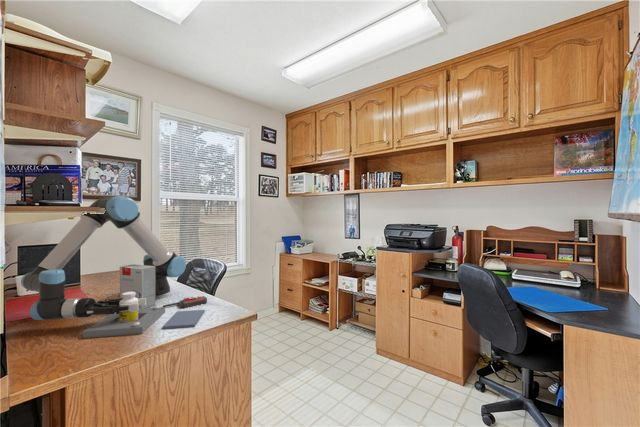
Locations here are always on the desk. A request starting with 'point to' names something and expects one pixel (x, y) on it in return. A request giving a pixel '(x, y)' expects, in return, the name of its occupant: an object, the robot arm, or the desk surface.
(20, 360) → the desk surface
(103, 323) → the frame
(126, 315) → the supplement bottle
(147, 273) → the hard drive box
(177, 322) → the mat
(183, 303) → the walkie-talkie
